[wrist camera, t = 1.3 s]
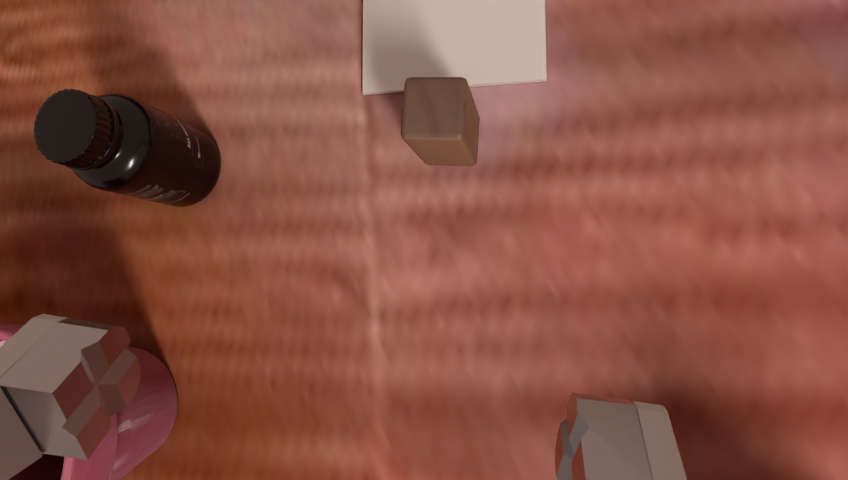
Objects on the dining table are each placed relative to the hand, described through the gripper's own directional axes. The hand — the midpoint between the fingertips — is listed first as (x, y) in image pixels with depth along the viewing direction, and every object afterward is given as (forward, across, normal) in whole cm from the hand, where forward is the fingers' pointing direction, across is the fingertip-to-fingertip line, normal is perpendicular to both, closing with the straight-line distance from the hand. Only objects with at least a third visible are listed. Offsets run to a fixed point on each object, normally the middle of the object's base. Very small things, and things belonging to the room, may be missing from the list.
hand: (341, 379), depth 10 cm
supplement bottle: (+31, +22, +14) cm, 41 cm away
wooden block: (+31, 0, +9) cm, 33 cm away
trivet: (+37, +2, +2) cm, 37 cm away
